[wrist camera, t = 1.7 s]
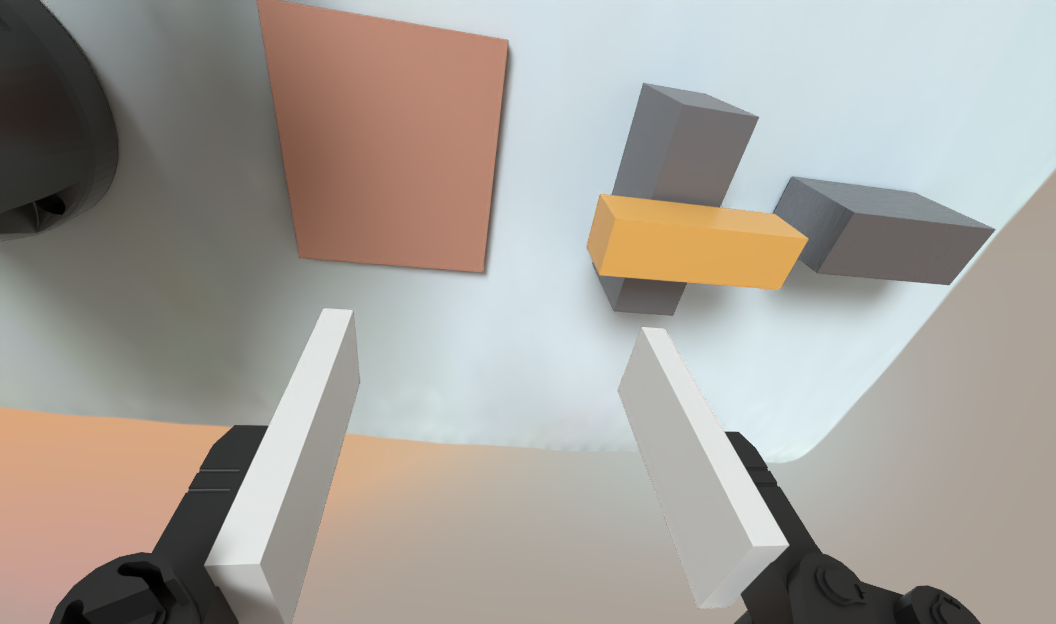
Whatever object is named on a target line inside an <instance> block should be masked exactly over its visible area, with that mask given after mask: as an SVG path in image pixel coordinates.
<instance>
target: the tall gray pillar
mask: <svg viewBox="0 0 1056 624" xmlns="http://www.w3.org/2000/svg"><path fill="white" fill-rule="evenodd" d="M758 119H759V117H758V116H755V115H753V114H751V113H748V112H746V111H744V110H742V109H739V108H737V107H735V106H732V105H730V104H728V103H725V102H723V101H721V100H718V99H716V98H714V97H712V96H709V95H707V94H702V93H697V92H691V91H685V90H680V89H674V88H669V87H663V86H657V85H652V84H646V83H643V86H642V89H641V93H640V96H639V100H638V104H637V107H636V111H635V114H634V118H633V121H632V125H631V128H630V132H629V135H628V139H627V142H626V146H625V150H624V153H623V157H622V160H621V164H620V167H619V171H618V174H617V178H616V181H615V185H614V189H613V192H612V195H615V196H624V197H632V198H641V199H650V200H658V201H667V202H676V203H684V204H693V205H702V206H710V207H719V208H720V206H721V204H722V201H723V199H724V197H725V195H726V192H727V190H728V188H729V185H730V183H731V181H732V178H733V176H734V174H735V172H736V169H737V167H738V165H739V162H740V160H741V158H742V156H743V153H744V151H745V149H746V146H747V144H748V142H749V139H750V137H751V135H752V133H753V130H754V128H755V126H756V123H757V121H758ZM592 264H593V266H594V268H595V270H596V273H597V275H598V277H599V279H600V282H601V284H602V286H603V288H604V291H605V293H606V295H607V297H608V300H609V302H610V304H611V306H612V309H613V311H618V312H631V313H644V314H657V315H670V316H673V314H674V312H675V309H676V307H677V305H678V302H679V300H680V298H681V295H682V293H683V291H684V289H685V286H686V284H687V282H676V281H664V280H652V279H639V278H627V277H615V276H603V275H599V273H598V271H597V269H596V267H595V265H594V262H593V263H592Z"/></svg>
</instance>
